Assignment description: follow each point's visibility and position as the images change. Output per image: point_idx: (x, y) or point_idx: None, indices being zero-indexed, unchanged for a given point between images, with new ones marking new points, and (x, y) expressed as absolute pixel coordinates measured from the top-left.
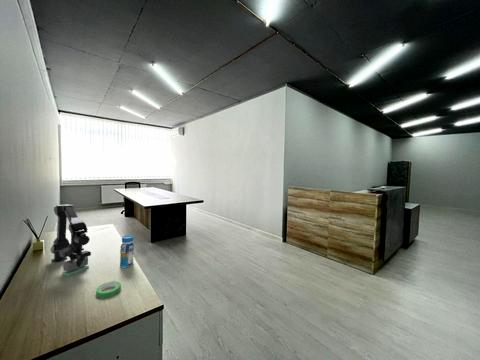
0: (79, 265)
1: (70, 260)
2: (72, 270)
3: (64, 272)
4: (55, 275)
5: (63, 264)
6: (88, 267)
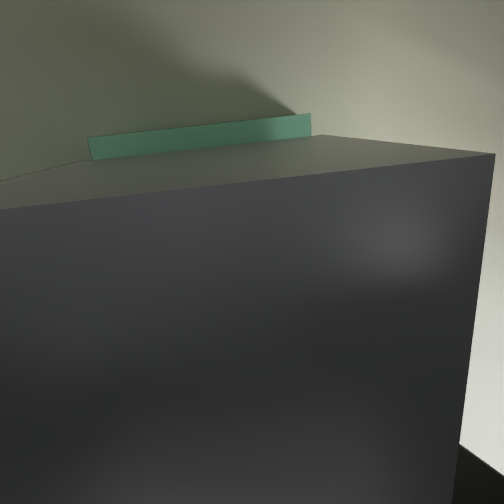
0: None
1: (368, 487)
2: None
3: (246, 134)
4: (387, 7)
5: (401, 144)
6: None
